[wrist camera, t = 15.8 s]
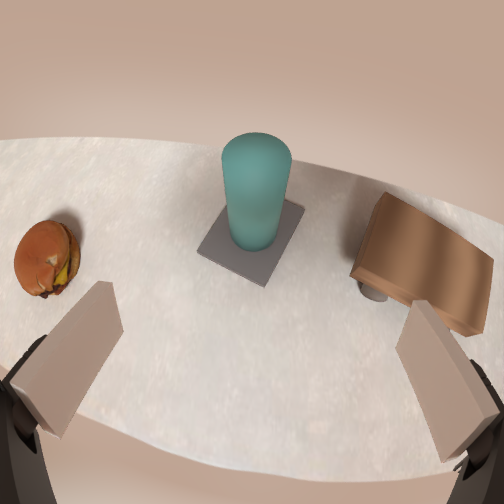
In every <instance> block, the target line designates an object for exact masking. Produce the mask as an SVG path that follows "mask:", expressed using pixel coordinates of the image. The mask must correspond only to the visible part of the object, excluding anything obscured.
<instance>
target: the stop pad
mask: <svg viewBox="0 0 504 504" xmlns="http://www.w3.org/2000/svg"><path fill="white" fill-rule="evenodd" d="M304 211H305V209H303V208H301V207H299V206H297V205H295V204H293V203H291V202H288V201H286V200H284V201H283V206H282V211H281V215H280V220H279V225H278V229H277V234H276V238H275V240H274V241H273V243H272V244H271V245H270V246H269V247H267V248H266V249H264V250H261V251H256V252H251V251H246V250H243V249H241V248H240V247H238V246H237V245H236V244H235V243H234V242H233V240H232V238H231V235H230V227H229V219H228V211H227V205H226V207H225V208H224V210H223V211H222V213H221V214H220V216H219V217H218V219H217V220H216V222H215V223H214V225H213V226H212V228H211V229H210V231H209V232H208V234H207V236H206V237H205V239H204V240H203V242H202V243H201V245H200V246H199V248H198V250H197V253H198V254H200V255H202V256H204V257H206V258H208V259H210V260H212V261H214V262H215V263H217V264H219V265H221V266H223V267H225V268H227V269H229V270H231V271H233V272H235V273H237V274H238V275H240V276H242V277H244V278H246V279H248V280H250V281H252V282H254V283H256V284H258V285H260V286H262V287H265V285H266V284H267V282H268V280H269V278H270V276H271V274H272V272H273V271H274V269H275V267H276V265H277V263H278V261H279V259H280V257H281V255H282V254H283V252H284V250H285V248H286V246H287V244H288V242H289V240H290V238H291V236H292V235H293V233H294V231H295V229H296V227H297V225H298V223H299V221H300V219H301V217H302V215H303V213H304Z"/></svg>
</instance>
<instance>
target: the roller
mask: <svg viewBox="0 0 504 504" xmlns="http://www.w3.org/2000/svg"><path fill="white" fill-rule="evenodd" d="M291 161H292V158H291V153H290V151H289V149H288V147H287V146H286V145H285V144H284V143H283V142H282V141H281V140H280V139H278V138H276V137H274V136H272V135H269V134H265V133H246V134H243V135H240V136H237V137H235V138H234V139H232V140H231V141H230V142H229V143H228V144H227V145H226V146H225V148H224V150H223V153H222V166H223V176H224V184H225V193H226V202H227V211H228V219H229V227H230V235H231V238H232V240H233V242H234V243H235V244H236V245H237V246H238V247H240V248H241V249H243V250H246V251H251V252H256V251H261V250H264V249H266V248H267V247H269V246H270V245H271V244H272V243H273V241H274V240H275V238H276V234H277V229H278V225H279V220H280V215H281V211H282V206H283V201H284V196H285V191H286V187H287V182H288V177H289V172H290V167H291Z"/></svg>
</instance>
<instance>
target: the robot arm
mask: <svg viewBox="0 0 504 504" xmlns="http://www.w3.org/2000/svg"><path fill="white" fill-rule="evenodd" d="M123 332H124V331H123V327H122V323H121V319H120V315H119V311H118V307H117V303H116V298H115V294H114V289H113V284H112V282H104V281H98V282H97V283H96V284H95V285H94V286H93V287H92V288H91V289H90V290H89V291H88V292H87V293H86V294H85V295H84V296H83V297H82V298H81V299H80V300H79V301H78V302H77V303H76V304H75V306H74V307H73V308H72V309H71V310H70V311H69V312H68V313H67V314H66V315H65V316H64V317H63V319H62V320H61V321H60V322H59V323H58V324H57V325H56V326H55V327H54V329H53V330H52V331H51V332H50V333H49V334H48V335H43V336H42V337H40V338H39V339H37V340H36V341H35V342H34V343H33V344H32V345H31V346H30V348H29V349H28V351H26V352H25V353H24V355H23V357H22V358H20V359H19V361H18V362H17V363H16V364H15V365H14V367H13V368H12V369H11V370H10V372H9V373H8V374H7V375H6V377H5V378H4V379H3V380H2V382H1V380H0V504H57V502H56V499H55V496H54V493H53V490H52V487H51V484H50V480H49V477H48V473H47V470H46V466H45V462H44V458H43V453H42V449H41V444H40V440H39V434H38V432H37V430H36V426H37V425H38V424H39V425H40V426H41V427H42V429H43V430H44V431H45V432H46V433H48V434H50V435H52V436H54V437H56V438H58V439H61V438H62V436H63V434H64V432H65V430H66V428H67V427H68V425H69V423H70V421H71V419H72V418H73V416H74V414H75V412H76V410H77V409H78V407H79V405H80V403H81V401H82V400H83V398H84V396H85V395H86V393H87V391H88V389H89V388H90V386H91V384H92V382H93V381H94V379H95V377H96V376H97V374H98V372H99V371H100V369H101V367H102V366H103V364H104V363H105V361H106V359H107V358H108V356H109V354H110V353H111V351H112V350H113V348H114V346H115V345H116V343H117V342H118V340H119V338H120V337H121V335H122V334H123ZM396 351H397V353H398V355H399V357H400V359H401V361H402V364H403V366H404V368H405V370H406V373H407V375H408V377H409V379H410V382H411V384H412V386H413V389H414V391H415V394H416V396H417V398H418V401H419V403H420V406H421V408H422V411H423V413H424V416H425V418H426V421H427V424H428V426H429V429H430V432H431V434H432V437H433V440H434V443H435V446H436V449H437V451H438V454H439V457H440V460H441V463H444V462H447V461H450V460H453V459H456V458H458V457H459V456H460V455H461V454H462V453H463V452H464V451H465V450H467V452H468V455H467V456H466V457H465V458H464V459H463V460H462V461H461V462H460V463H459V464H457V465H456V466H455V468H454V469H453V471H456V470H457V469H458V468H459V467H461V466H462V467H461V470H460V471H459V472H458V473H459V475H458V478H457V480H456V483H455V486H454V488H453V490H452V493H451V495H450V498H449V500H448V502H447V504H504V404H503V403H502V401H501V399H500V397H499V396H498V394H497V392H496V391H495V389H494V387H493V386H491V382H490V381H489V379H488V378H487V376H486V374H485V373H484V371H483V369H482V368H481V367H480V366H479V365H478V364H477V363H476V362H475V361H474V360H472V359H471V360H469V359H468V357H467V356H466V354H465V353H464V351H463V350H462V348H461V347H460V345H459V344H458V342H457V341H456V340H455V338H454V337H453V335H452V334H451V332H450V331H449V329H448V328H447V327H446V325H445V324H444V322H443V321H442V320H441V318H440V317H439V316H438V314H437V313H436V312H435V310H434V309H433V308H432V306H431V305H430V304H429V302H428V301H427V300H413V303H412V306H411V308H410V311H409V314H408V317H407V320H406V322H405V325H404V328H403V330H402V333H401V336H400V338H399V341H398V343H397V346H396Z"/></svg>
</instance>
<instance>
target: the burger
mask: <svg viewBox="0 0 504 504" xmlns="http://www.w3.org/2000/svg"><path fill="white" fill-rule="evenodd" d="M79 250H80V249H79V246H78V243H77V241H76V239H75V237H74V235H73V233H72V232H71V230H69V229H68V228H67V226H64V224H62V223H57V222H55V221H51V220H46V221H42V222H39V223H37V224H36V225H34V226H33V227H32V228H30V230H29V231H28V232H27V233H26V234H25V235H24V237H23V238H22V240H21V241H20V243H19V245H18V248H17V250H16V253H15V257H14V269H15V274H16V276H17V279H18V281H19V282H20V284H21V286H22V288H23V289H24V290H25V291H26V292H28V293H29V294H31V295H33V296H37V295H38V296H41V297H42V298H45V299H46V298H47V297H48V295H59V294H60V293H61V292H62V291H63V290H64V289H65V288H66V285H67V283H68V282H69V281H70V279H72V278H74V276H76V273H77V271H78V268H79V263H80V254H79Z"/></svg>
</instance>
